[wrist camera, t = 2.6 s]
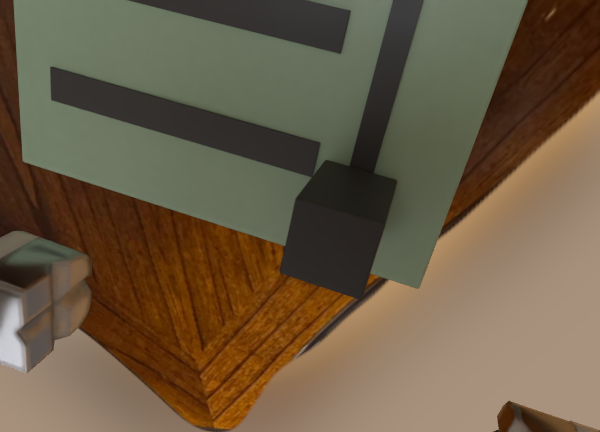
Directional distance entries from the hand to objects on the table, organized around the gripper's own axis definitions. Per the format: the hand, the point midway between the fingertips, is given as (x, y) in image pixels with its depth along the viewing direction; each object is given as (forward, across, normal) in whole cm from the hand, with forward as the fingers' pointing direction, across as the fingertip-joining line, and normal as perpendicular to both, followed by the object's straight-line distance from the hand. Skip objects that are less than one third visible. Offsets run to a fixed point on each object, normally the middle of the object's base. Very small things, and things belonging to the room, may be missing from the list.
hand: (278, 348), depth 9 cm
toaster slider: (+8, 0, 0) cm, 8 cm away
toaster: (+23, +5, -3) cm, 24 cm away
